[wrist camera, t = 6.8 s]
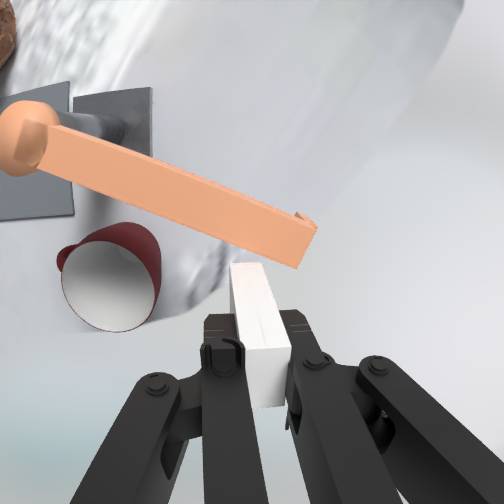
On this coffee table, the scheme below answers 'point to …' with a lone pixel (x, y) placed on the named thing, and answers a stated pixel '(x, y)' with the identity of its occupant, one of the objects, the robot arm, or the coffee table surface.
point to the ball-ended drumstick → (148, 184)
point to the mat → (39, 183)
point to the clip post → (114, 118)
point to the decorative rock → (6, 31)
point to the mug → (112, 276)
